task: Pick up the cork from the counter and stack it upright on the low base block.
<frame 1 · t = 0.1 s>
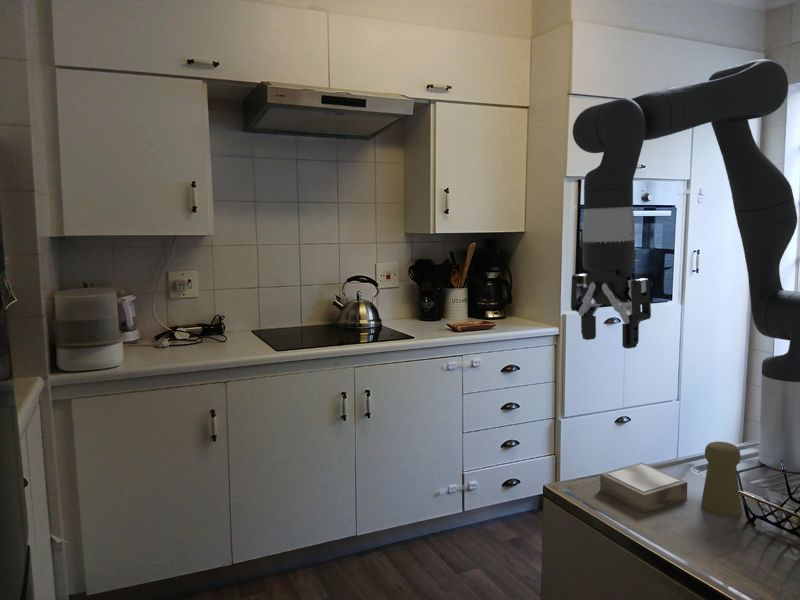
hand: (608, 343, 95), 29 cm above the counter, tool pointing down, fingers open, 8 cm apart
base block: (642, 494, 108), on the counter
cork: (721, 509, 102), on the counter
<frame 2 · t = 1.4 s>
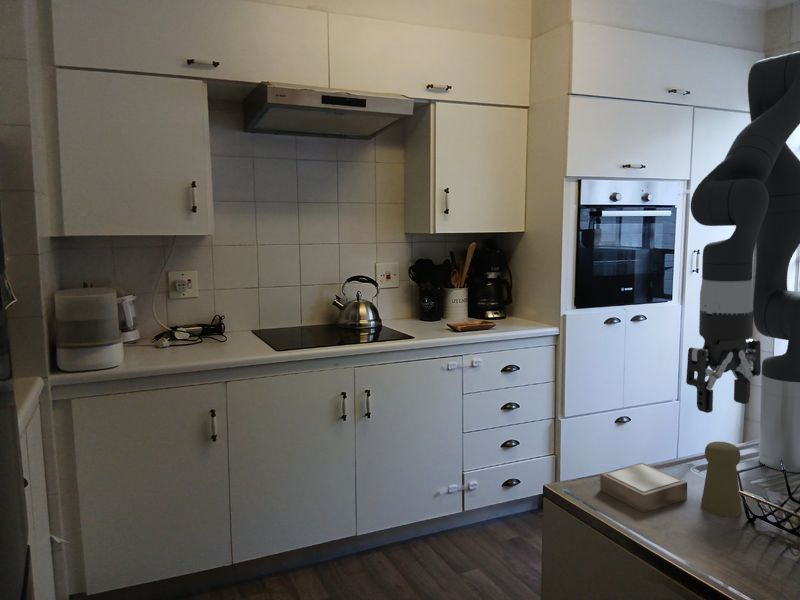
hand: (723, 406, 99), 17 cm above the counter, tool pointing down, fingers open, 8 cm apart
nothing on the counter moved.
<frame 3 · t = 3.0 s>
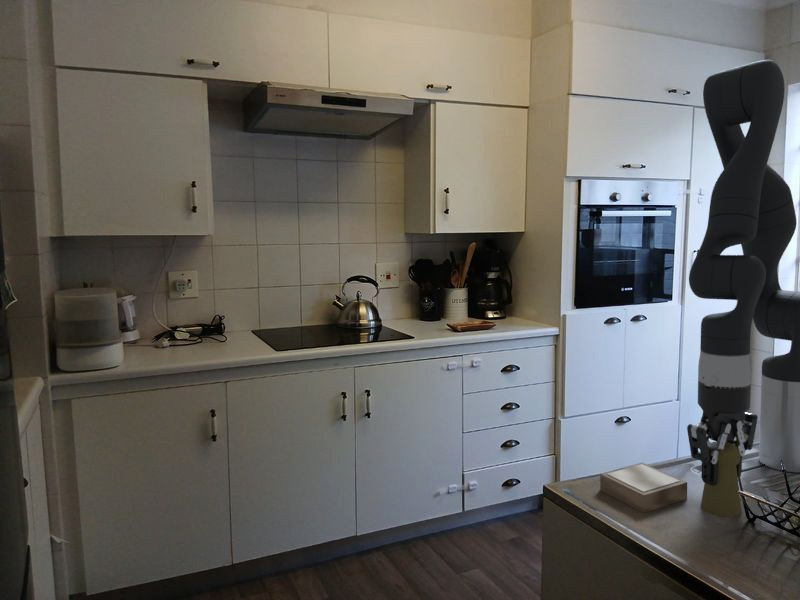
hand: (721, 479, 101), 5 cm above the counter, tool pointing down, fingers closed on cork, 5 cm apart
cork: (720, 509, 102), on the counter, touching gripper
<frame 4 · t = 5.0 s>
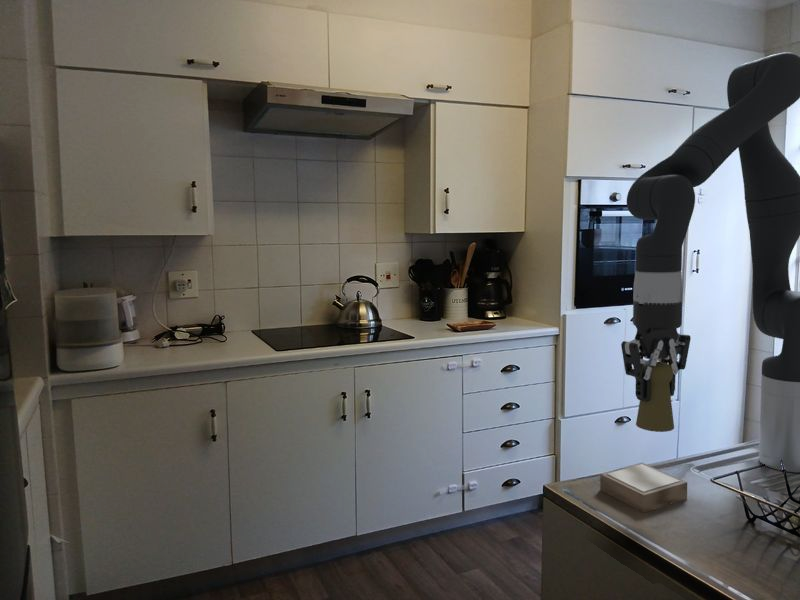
hand: (655, 397, 104), 18 cm above the counter, tool pointing down, fingers closed on cork, 5 cm apart
cork: (654, 427, 105), point 13 cm above the counter, touching gripper
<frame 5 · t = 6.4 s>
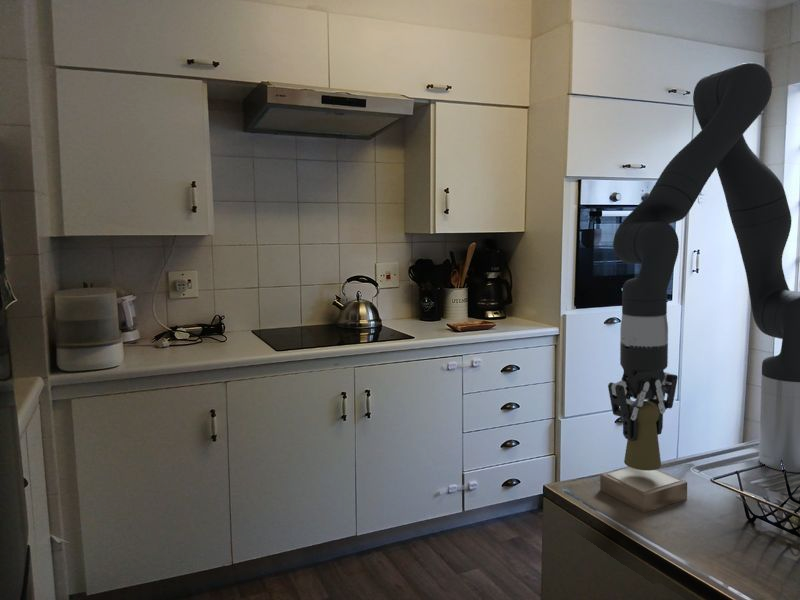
hand: (642, 436, 106), 11 cm above the counter, tool pointing down, fingers closed on cork, 5 cm apart
cork: (642, 464, 107), point 5 cm above the counter, touching gripper
when the fingers open (9 cm above the counter, at t = 7.2 s): cork stays where it is, resting on base block.
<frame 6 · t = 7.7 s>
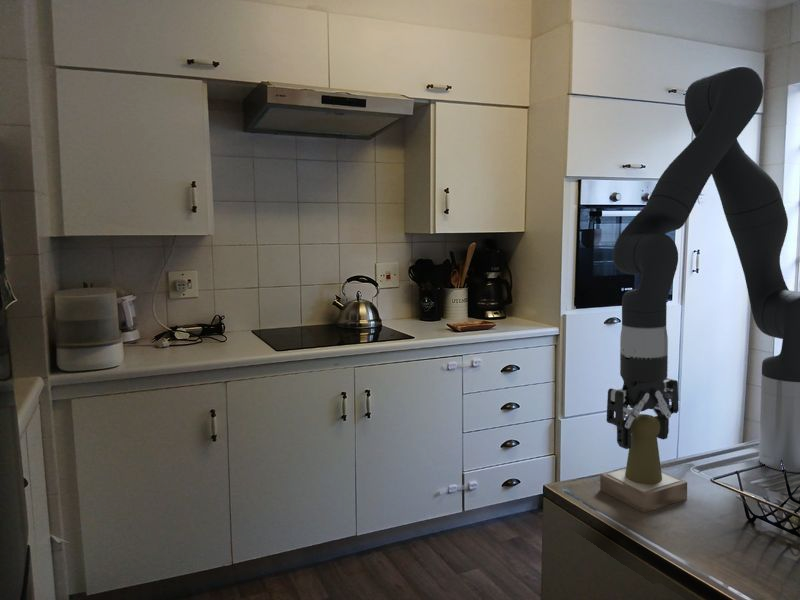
hand: (643, 442, 106), 9 cm above the counter, tool pointing down, fingers open, 8 cm apart
cork: (643, 478, 107), point 3 cm above the counter, touching base block
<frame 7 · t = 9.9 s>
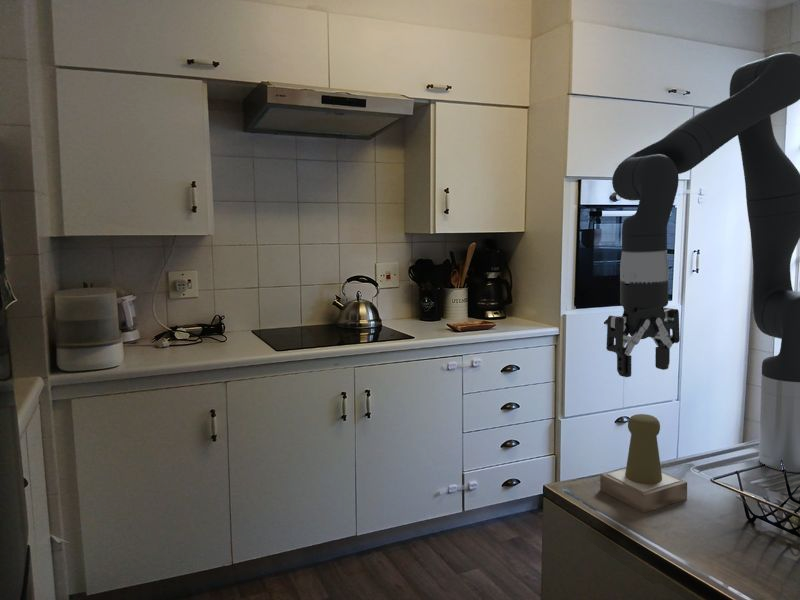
hand: (643, 372, 105), 22 cm above the counter, tool pointing down, fingers open, 8 cm apart
nothing on the counter moved.
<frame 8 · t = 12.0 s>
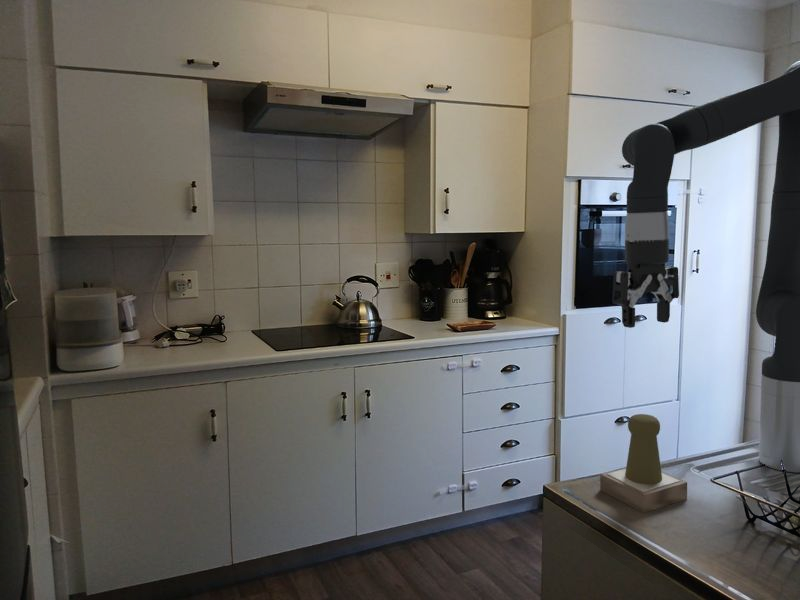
hand: (646, 324, 115), 28 cm above the counter, tool pointing down, fingers open, 8 cm apart
nothing on the counter moved.
at the end: cork 0.2 cm off-centre on the base block, point 3.0 cm above the base block's base; cork tilted 0°; the gripper is holding nothing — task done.
